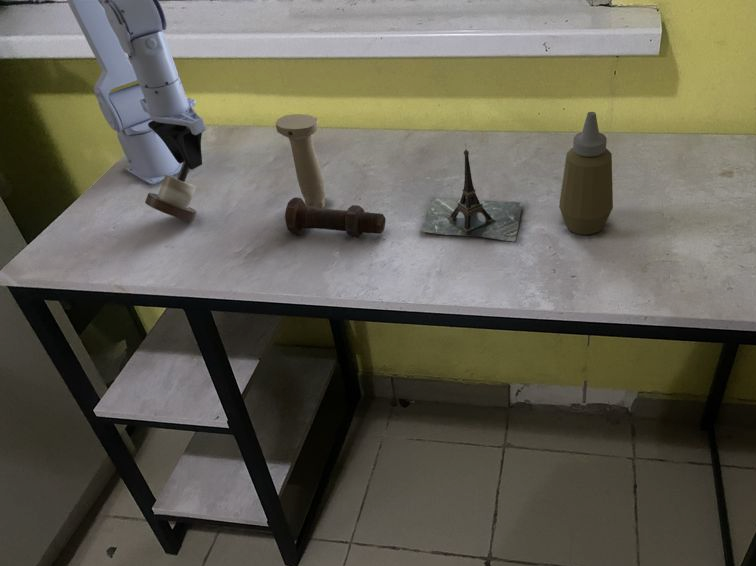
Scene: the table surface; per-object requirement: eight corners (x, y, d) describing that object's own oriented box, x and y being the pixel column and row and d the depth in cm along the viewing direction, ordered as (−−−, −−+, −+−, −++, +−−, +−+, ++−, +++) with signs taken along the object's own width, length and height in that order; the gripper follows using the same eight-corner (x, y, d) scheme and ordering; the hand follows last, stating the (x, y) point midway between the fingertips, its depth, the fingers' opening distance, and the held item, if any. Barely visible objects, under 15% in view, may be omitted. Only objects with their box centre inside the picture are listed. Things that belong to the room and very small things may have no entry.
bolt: (384, 246, 111) (294, 238, 113) (390, 217, 112) (301, 210, 115) (375, 230, 105) (281, 222, 108) (381, 200, 107) (288, 192, 109)
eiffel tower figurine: (524, 205, 114) (523, 127, 105) (515, 241, 107) (513, 161, 98) (434, 200, 117) (425, 124, 108) (419, 235, 110) (408, 157, 100)
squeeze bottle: (615, 214, 110) (626, 103, 98) (605, 243, 105) (615, 130, 93) (565, 207, 113) (569, 98, 100) (552, 236, 107) (555, 124, 95)
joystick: (200, 146, 118) (159, 130, 111) (227, 159, 114) (186, 143, 107) (177, 210, 119) (135, 197, 113) (202, 225, 116) (161, 213, 109)
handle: (328, 216, 115) (308, 130, 105) (293, 212, 117) (270, 127, 107) (340, 200, 119) (322, 115, 108) (306, 196, 120) (284, 112, 110)
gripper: (210, 81, 102) (237, 165, 112) (156, 60, 110) (186, 141, 119) (167, 99, 99) (199, 185, 108) (115, 76, 106) (149, 158, 115)
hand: (190, 163), depth 113 cm, fingers closed on joystick, 3 cm apart
